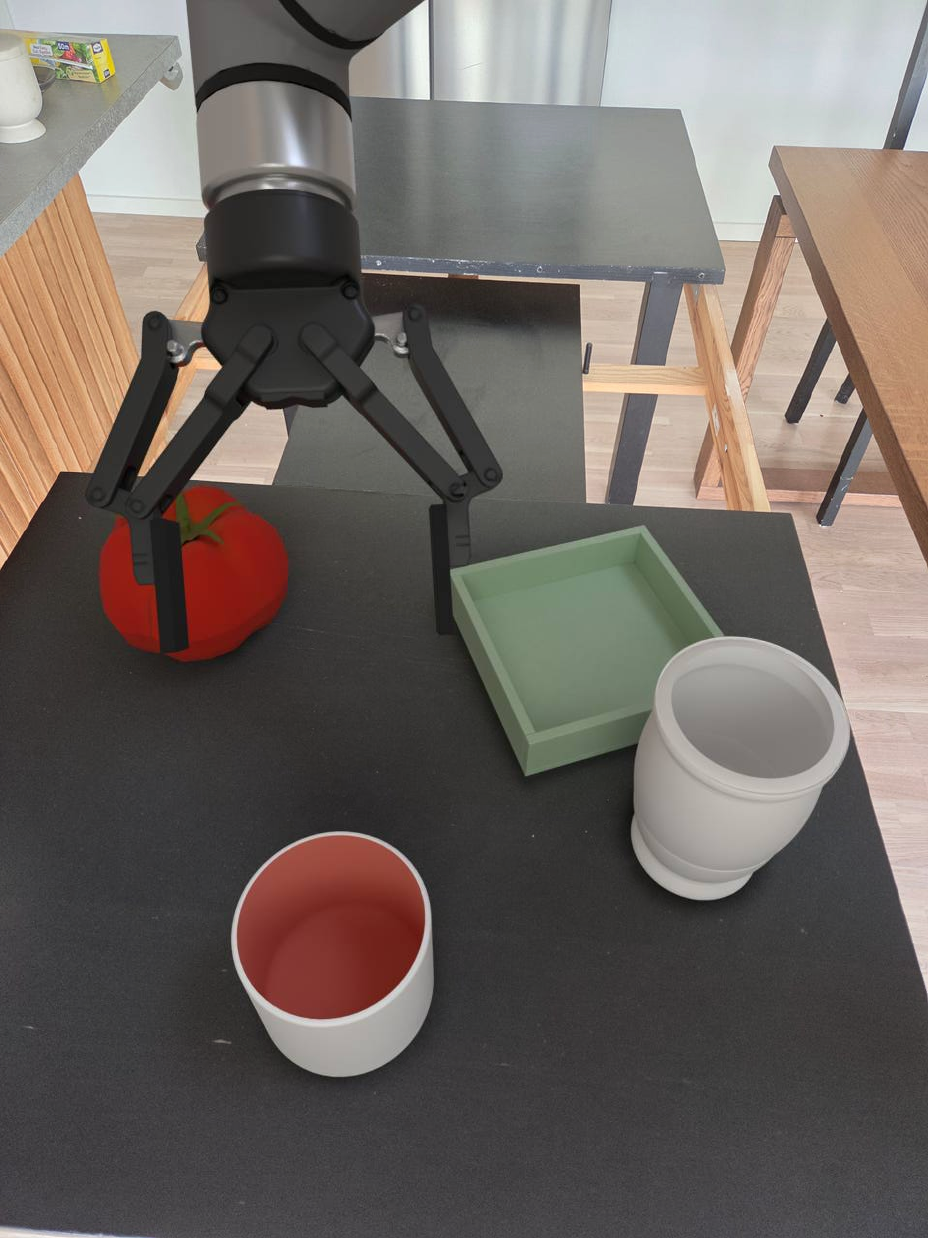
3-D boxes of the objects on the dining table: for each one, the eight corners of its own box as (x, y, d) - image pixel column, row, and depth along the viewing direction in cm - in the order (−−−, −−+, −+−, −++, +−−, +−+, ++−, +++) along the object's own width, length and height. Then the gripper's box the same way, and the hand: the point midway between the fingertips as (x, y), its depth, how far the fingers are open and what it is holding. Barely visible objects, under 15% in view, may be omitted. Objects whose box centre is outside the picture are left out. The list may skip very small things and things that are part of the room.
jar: (642, 752, 61) (685, 611, 50) (786, 808, 58) (866, 672, 47) (592, 876, 55) (628, 746, 44) (751, 947, 52) (833, 827, 41)
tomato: (328, 612, 70) (311, 502, 61) (191, 719, 63) (149, 612, 54) (224, 542, 76) (195, 432, 67) (87, 633, 68) (33, 523, 59)
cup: (248, 940, 52) (214, 866, 44) (403, 885, 54) (395, 806, 47) (285, 1113, 45) (252, 1061, 38) (458, 1042, 48) (460, 979, 40)
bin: (741, 713, 64) (756, 679, 61) (525, 777, 60) (529, 744, 57) (636, 559, 75) (644, 524, 72) (448, 604, 71) (447, 569, 68)
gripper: (519, 238, 46) (540, 622, 48) (52, 251, 44) (86, 651, 46) (543, 173, 39) (568, 630, 40) (-17, 186, 37) (25, 666, 38)
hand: (311, 642), depth 43 cm, fingers open, 13 cm apart
